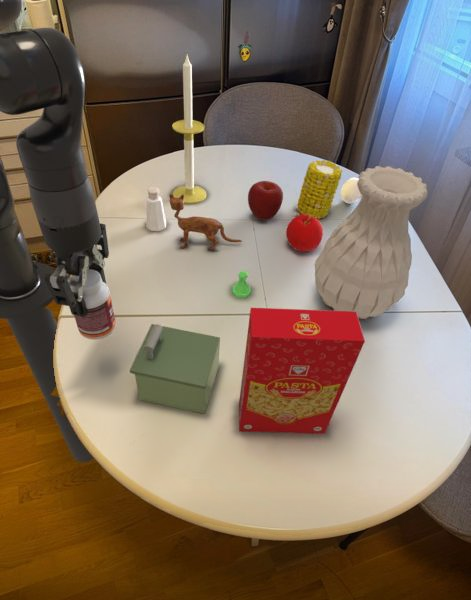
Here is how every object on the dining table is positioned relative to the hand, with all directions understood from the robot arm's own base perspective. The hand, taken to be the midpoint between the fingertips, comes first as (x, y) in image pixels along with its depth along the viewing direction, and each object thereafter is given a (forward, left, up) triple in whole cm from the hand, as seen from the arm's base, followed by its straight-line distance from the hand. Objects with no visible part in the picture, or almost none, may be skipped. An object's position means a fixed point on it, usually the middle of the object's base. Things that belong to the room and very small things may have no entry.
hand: (90, 299), depth 66 cm
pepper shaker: (-7, +46, -18) cm, 50 cm away
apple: (+20, +59, -18) cm, 65 cm away
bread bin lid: (+14, 0, -10) cm, 17 cm away
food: (+34, +66, -18) cm, 77 cm away
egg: (+44, +74, -18) cm, 88 cm away
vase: (+45, +31, -18) cm, 58 cm away
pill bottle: (0, 0, -7) cm, 7 cm away
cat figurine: (+8, +42, -18) cm, 46 cm away
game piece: (+20, +27, -18) cm, 38 cm away
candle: (-3, +64, -18) cm, 66 cm away
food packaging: (+33, -3, -18) cm, 38 cm away
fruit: (+32, +48, -18) cm, 61 cm away
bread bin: (+14, 0, -18) cm, 23 cm away
